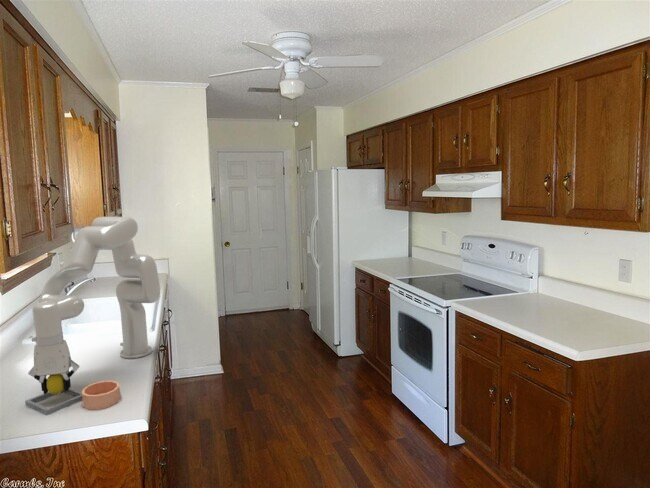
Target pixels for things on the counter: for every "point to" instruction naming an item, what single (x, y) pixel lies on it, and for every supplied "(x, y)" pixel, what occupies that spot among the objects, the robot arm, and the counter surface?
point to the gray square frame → (50, 410)
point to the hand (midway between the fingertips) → (56, 390)
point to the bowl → (101, 395)
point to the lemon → (55, 384)
